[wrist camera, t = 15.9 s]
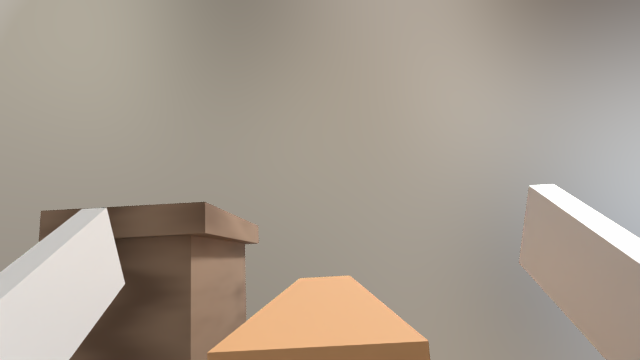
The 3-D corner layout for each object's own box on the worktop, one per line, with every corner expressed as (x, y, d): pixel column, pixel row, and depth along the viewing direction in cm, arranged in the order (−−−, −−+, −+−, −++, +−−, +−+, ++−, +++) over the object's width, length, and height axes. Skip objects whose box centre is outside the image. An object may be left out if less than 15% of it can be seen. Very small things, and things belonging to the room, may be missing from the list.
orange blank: (207, 541, 7) (207, 352, 8) (301, 317, 33) (299, 278, 33) (446, 530, 7) (428, 341, 7) (352, 314, 32) (349, 275, 33)
